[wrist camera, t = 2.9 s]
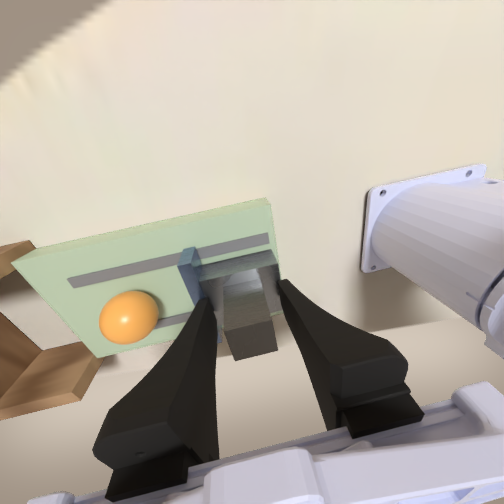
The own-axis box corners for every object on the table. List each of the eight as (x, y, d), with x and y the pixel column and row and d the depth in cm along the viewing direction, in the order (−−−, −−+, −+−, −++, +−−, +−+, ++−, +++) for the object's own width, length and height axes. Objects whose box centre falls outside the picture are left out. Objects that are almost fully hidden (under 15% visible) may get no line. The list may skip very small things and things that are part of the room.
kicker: (268, 229, 14) (293, 275, 9) (280, 305, 17) (303, 369, 12) (183, 248, 13) (161, 306, 9) (212, 321, 17) (209, 393, 12)
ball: (152, 276, 15) (134, 310, 12) (170, 310, 16) (159, 349, 13) (104, 287, 14) (73, 325, 11) (127, 320, 16) (105, 361, 13)
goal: (28, 240, 14) (-57, 282, 10) (112, 343, 20) (81, 400, 15) (-76, 263, 14) (-211, 317, 10) (38, 361, 19) (-16, 424, 15)
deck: (264, 197, 15) (271, 205, 13) (280, 297, 20) (286, 314, 18) (35, 248, 15) (7, 264, 13) (108, 339, 19) (96, 360, 17)
